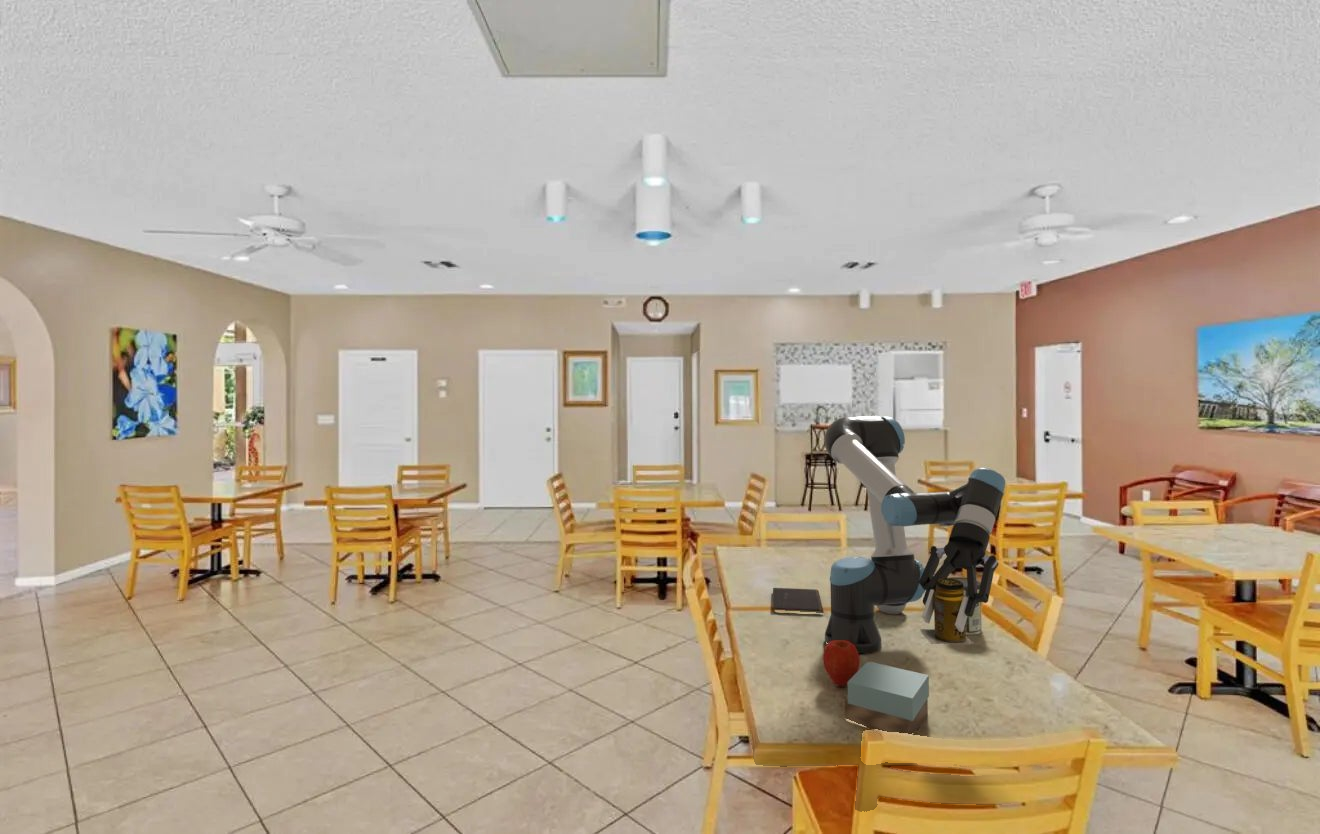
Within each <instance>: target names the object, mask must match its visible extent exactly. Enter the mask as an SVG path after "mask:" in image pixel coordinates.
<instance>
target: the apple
mask: <svg viewBox="0 0 1320 834" xmlns="http://www.w3.org/2000/svg"><path fill="white" fill-rule="evenodd" d="M860 658H861V657H860V654H858V651H857V649H856V647H855V645H853V644H852V643H851V642H849V641H845V640H833V641H831V642H829V643H828V644H827V645H825V648H824V650H823V654H822V662H823V667H824V669H825V671H826V672H827V674H828V677H829V678H830V680H831V681H832V682H833V684H834V685H835V684H836V685H838V686H837V687H839V686H842V687H847V686H848V681H849V680H850V679H851V678H852V677H853V676H854V675H855V674H856V673H857V672H858V671H859V670H860V669H859V667H860V664H861V663H860ZM836 685H835V686H836ZM846 685H847V686H846Z"/></svg>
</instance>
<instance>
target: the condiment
mask: <svg viewBox="0 0 1320 834" xmlns="http://www.w3.org/2000/svg"><path fill="white" fill-rule="evenodd" d="M963 586H964V585H963V583H962V582H961V581H959V580H956V579H951V577H947V578H941V579H938V580H937V581H936V588H935V589H936V592H935V593H934V611H933V613H934V614H933V615H934V616H933V618H934V629H932V628H931V629H928V628H919V631H920V633H921V634H922V635H923V637H925V640H927V641H928V642H929V643H930V645H941V644H943V645H973V644H975V643H974V641H972V640H971V639H970V638H969V637H968V635H966V623H965V627H964V630H963V632H960V631H958V629H957V627H956V626H955V623H956V619H957V616H958V613H959V610H960V606H961V603H962V600H963V597H964V596H965V595H964V594H963V593H964V590H963Z"/></svg>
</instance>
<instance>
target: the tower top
mask: <svg viewBox="0 0 1320 834" xmlns="http://www.w3.org/2000/svg"><path fill="white" fill-rule="evenodd" d="M929 697H930V675H929V674H924V673H921V672H917V671H912V670H908V669H907V670H906V669H903V668H899V667H895V666H889V665H886V664H881V663H877V662H872V661H866V662H865V663H864V664H863V665H862V667H860V669H858V672H857V673H856V674H855V675H854V676H853V677H852V678H851V679H850V680H849V681H848V685H847V699H848V704H852V705H856V706H859V707H863V708H867V709H870V710H874V711H878V712H881V713H885V714H888V715H892V716H896V717H899V718H903V719H907V720H910V721H913V720H914V719H915V717H916V715H917V714H918V712H919V711H920V709H921V708H922V706H923V705H924V703H925V702H926V700H927V699H929Z"/></svg>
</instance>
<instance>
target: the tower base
mask: <svg viewBox="0 0 1320 834" xmlns="http://www.w3.org/2000/svg"><path fill="white" fill-rule="evenodd" d="M928 699H929V698H928ZM928 699H927V700H926V702H925V703H924V705H923V706H922V708H921V709H920V711H919V712H918V714H917V715H916V717H915V719H914V720H913V721H910V720H907V719H903V718H899V717H896V716H892V715H888V714H885V713H881V712H878V711H874V710H870V709H867V708H863V707H859V706H856V705H852V704H848V698H846V700H845V701H844V719H845V718H846V719H849V720H851V721H854V722H856V723H858V724H862V725H864V726H866V727H867V728H869V729H868V730H870V729H878V730H882V731H887V732H899V733H908V734H912V733H914V734H915V733H916V732H917V731H918V730H919V728H920V727H921V725H922V724H924V721H925V720H926V719H927V718H928V715H929V710H928V709H929V707H928V704H929V703H928V702H929V701H928ZM919 726H920V727H919ZM867 728H866V729H867ZM916 730H917V731H916ZM915 731H916V732H915Z"/></svg>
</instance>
